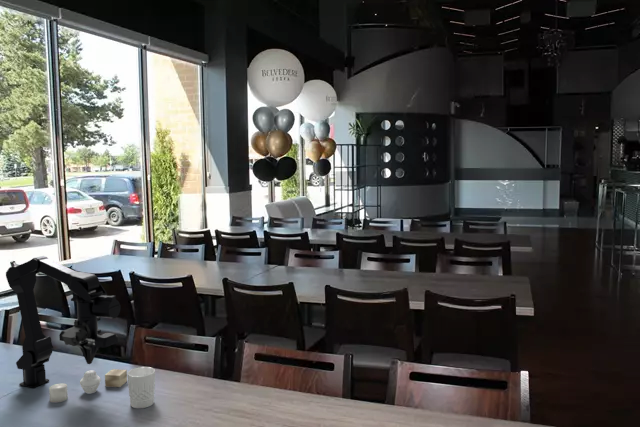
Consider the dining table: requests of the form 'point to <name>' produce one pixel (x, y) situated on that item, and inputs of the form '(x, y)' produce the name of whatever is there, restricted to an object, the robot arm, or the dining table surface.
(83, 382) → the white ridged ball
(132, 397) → the white cup
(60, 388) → the white rounded lump
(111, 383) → the maple block
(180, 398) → the dining table surface
